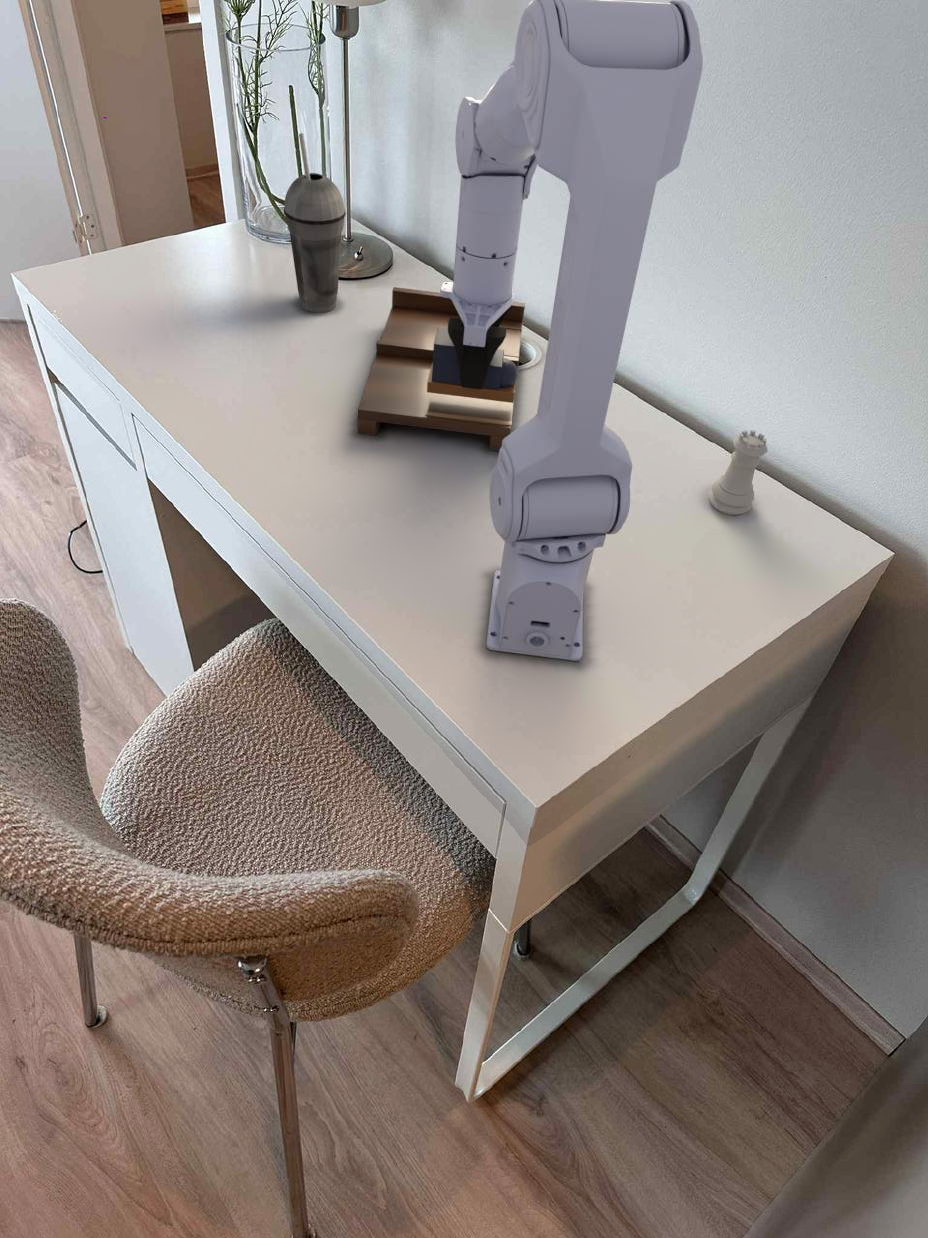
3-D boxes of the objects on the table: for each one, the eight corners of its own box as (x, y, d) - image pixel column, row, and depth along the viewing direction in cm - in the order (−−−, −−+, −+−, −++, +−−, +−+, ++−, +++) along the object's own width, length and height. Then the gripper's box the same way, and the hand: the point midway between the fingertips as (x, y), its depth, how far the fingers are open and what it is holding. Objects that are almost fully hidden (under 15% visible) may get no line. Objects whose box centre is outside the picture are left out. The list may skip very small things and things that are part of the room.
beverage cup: (354, 314, 111) (352, 143, 97) (297, 320, 109) (287, 146, 95) (338, 288, 116) (334, 120, 102) (283, 293, 114) (271, 123, 99)
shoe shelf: (507, 452, 93) (513, 411, 90) (357, 433, 94) (357, 392, 90) (520, 340, 110) (525, 302, 107) (392, 325, 110) (393, 286, 107)
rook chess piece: (698, 493, 91) (721, 427, 85) (735, 486, 92) (759, 421, 87) (722, 520, 88) (746, 454, 83) (759, 513, 90) (786, 447, 84)
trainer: (516, 382, 94) (522, 336, 90) (514, 403, 91) (520, 355, 88) (431, 372, 94) (434, 325, 90) (426, 392, 92) (429, 344, 88)
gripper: (452, 209, 87) (443, 336, 97) (434, 274, 77) (426, 408, 87) (523, 218, 87) (507, 344, 97) (514, 284, 77) (498, 417, 87)
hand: (473, 375), depth 92 cm, fingers closed on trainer, 3 cm apart
